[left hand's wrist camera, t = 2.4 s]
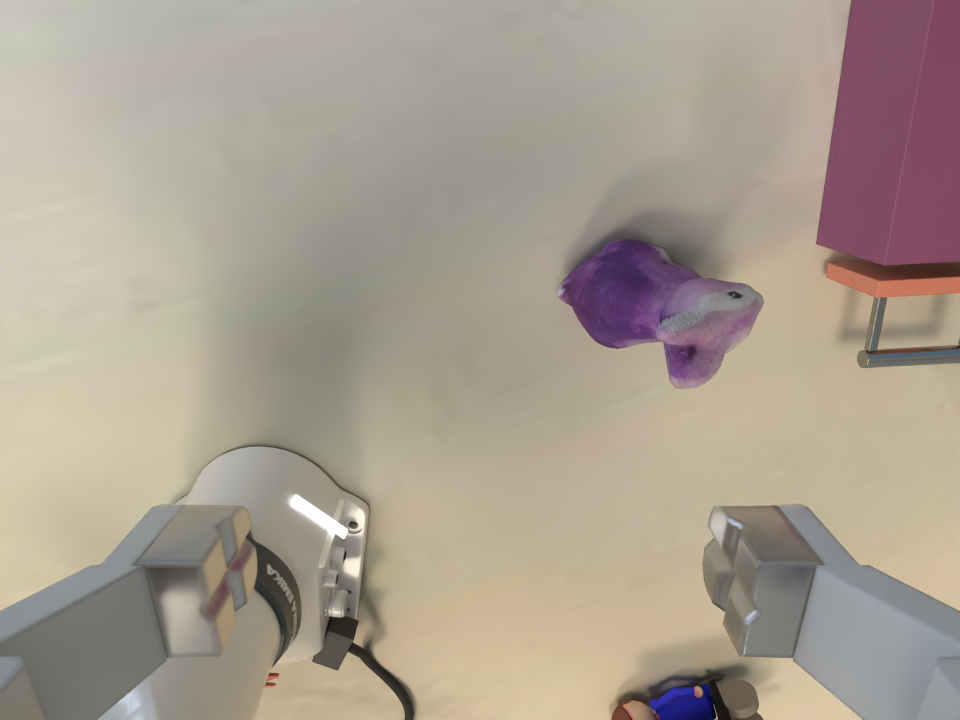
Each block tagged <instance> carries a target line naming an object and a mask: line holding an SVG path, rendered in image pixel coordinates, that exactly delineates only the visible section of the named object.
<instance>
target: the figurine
mask: <svg viewBox="0 0 960 720" xmlns="http://www.w3.org/2000/svg"><path fill="white" fill-rule="evenodd" d="M557 295H558V297H559V298H560V299H561V300H562V301H564V302H565V303H567V304H569V305H570V306H572V307H573V309H574V312H575V314H576V316H577V317H578V319H579V321H580V322H581V324H582V325H583V327H584V328H585V330H586V331H587V332H588V333H589V335H590V336H591V337H592V338H593V339H594V340H595V341H596V342H598V343H599V344H601V345H603V346H606V347H609V348H616V349H619V348H625V347H629V346H633V345H636V344H641V343H649V342H663V343H664V349H665V355H666V361H667V367H668V373H669V379H670V382H671V383H672V385H673V386H674V387H675V388H678V389H690V388H696V387H698V386H700V385H702V384H704V383H706V382H707V381H708V380H710V379H711V378H712V377H713V376H714V375H715V374H716V373H717V371H718V369H719V368H720V366H721V363H722V360H723V357H724V354H725V353H728V352H729V351H731V350H732V349H734V347H735V346H736V345H737V344H739V343H741V342H742V341H744V340H745V339H746V337H747V336H748V335H749V333H750V331H751V330H752V327H753V325H754V322H755V320H756V318H757V315H758V314H759V312H760V310H761V309H762V306H763V304H764V300H763V297H762V296H761V295H760V294H759V293H758V292H756V291H754V290H753V288H751V287H750V286H748V285H746V284H742V283H734V282H727V281H721V280H716V279H711V278H702V277H701V276H700V275H699V274H698V273H696V272H695V271H693V270H692V269H690V268H687V267H685V266H680V265H678V264H676V263H674V262H672V261H671V260H670V257H669V255H668V253H667V252H666V251H665V250H664V249H663V248H660V247H657V246H654V245H651V244H648V243H644V242H640V241H636V240H629V239H617V240H613V241H610V242H608V243H607V244H606V245H605V246H604V247H603V249H602V250H601V252H600V253H598V254H597V255H595V256H593V257H591V258H589V259H588V260H586V261H584V262H583V263H582V264H580V265H579V266H578V267H577V268H576V269H575V270H574V271H572V272H571V273H570V274H569V275H568V276H567V277H566V278H565V279H564V280H563V281H562V283H561V284H560V286H559V287H558V290H557Z"/></svg>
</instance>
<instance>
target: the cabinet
mask: <svg viewBox="0 0 960 720" xmlns="http://www.w3.org/2000/svg"><path fill="white" fill-rule="evenodd" d="M817 244H818V245H821V246H824V247H827V248H830V249H834V250H837V251H840V252H843V253H846V254H849V255H853V256H856V257H859V258H862V259H865V260H868V261H872V262H875V263H878V264H881V265H902V264H920V263H938V262H956V261H960V0H852V2H851V9H850V16H849V23H848V30H847V37H846V44H845V51H844V57H843V64H842V71H841V78H840V85H839V92H838V99H837V106H836V113H835V119H834V126H833V133H832V140H831V147H830V154H829V161H828V168H827V175H826V181H825V188H824V195H823V202H822V209H821V216H820V223H819V230H818V237H817Z"/></svg>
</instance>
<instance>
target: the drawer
mask: <svg viewBox="0 0 960 720" xmlns="http://www.w3.org/2000/svg"><path fill="white" fill-rule="evenodd" d="M826 277H827V278H829V279H832V280H834V281H837V282H839V283H841V284H844V285H846V286H849V287H851V288H854V289H856V290H859V291H861V292H864V293H866V294H869V295H871V296H874V301H873V306H872V312H871V317H870V322H869V328H868V333H867V338H866V344H865V350H861V351H860V352H859V353H858V355H857V362H858V365H859V366H860V367H861V368H875V367H894V366H914V365H933V364H952V363H960V339H959V343H958V344H959V345H950V346H931V347H912V348H893V349H877V347H878V342H879V336H880V331H881V326H882V321H883V316H884V311H885V305H886V300H887V297H897V296H915V295H934V294H952V293H960V261H956V262H938V263H920V264H902V265H881V264H878V263H875V262H872V261H853V262H835V263H828V269H827V276H826Z"/></svg>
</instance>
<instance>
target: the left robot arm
mask: <svg viewBox="0 0 960 720" xmlns="http://www.w3.org/2000/svg"><path fill="white" fill-rule="evenodd" d="M368 519H369V508H368V506H367V504H366V503H365V502H364V501H362V500H361V499H359V498H358V497H356V496H354V495H352V494H350V493H348V492H346V491H344V490H342V489H340V488H339V487H338V486H337V485H336V484H335V483H334V482H333V481H332V480H331V479H330V478H329V477H328V476H327V475H326V474H325V473H324V472H323V471H322V470H321V469H320V468H319V467H317V466H316V465H315V464H313V463H312V462H310V461H309V460H307V459H305V458H303V457H301V456H299V455H297V454H295V453H292V452H289V451H286V450H282V449H278V448H272V447H245V448H240V449H236V450H233V451H230V452H227V453H225V454H223V455H221V456H219V457H217V458H216V459H214V460H213V461H212V462H210V463H209V464H208V465H207V466H206V467H205V468H204V469H203V471H202V472H201V473H200V475H199V476H198V478H197V480H196V482H195V484H194V486H193V488H192V490H191V491H190V492H189V494H188V495H186V496H185V497H183V498H182V499H180V500H179V501H177V502H176V503H175V504H160V505H157V506H154V507H152V508H151V509H150V510H149V511H148V512H147V513H146V515H145V516H144V517H143V518H142V519H141V520H140V521H139V522H138V524H137V525H136V526H135V527H134V528H133V529H132V530H131V531H130V533H129V534H128V535H127V536H126V537H125V538H124V539H123V540H122V542H121V543H120V544H119V545H118V546H117V547H116V548H115V549H114V550H113V552H112V553H111V554H110V555H109V556H108V557H107V558H106V559H105V561H104V562H103V563H102V564H101V565H91V566H89V567H87V568H85V569H83V570H81V571H79V572H77V573H75V574H73V575H71V576H69V577H67V578H65V579H63V580H61V581H59V582H57V583H55V584H53V585H51V586H49V587H47V588H45V589H43V590H41V591H39V592H37V593H35V594H33V595H31V596H29V597H27V598H25V599H23V600H21V601H19V602H17V603H15V604H13V605H11V606H9V607H7V608H5V609H3V610H1V611H0V720H255V716H256V712H257V709H258V706H259V703H260V699H261V696H262V693H263V690H264V687H274V686H276V684H275V683H270V682H267V681H269V680H272V679H275V678H278V677H279V674H278V673H270V671H271V668H272V667H273V666H274V665H284V664H290V663H296V662H300V661H303V660H306V659H308V658H311V657H312V656H314V657H313V661H312V662H314V663H317V664H320V665H323V666H326V667H329V668H332V669H335V670H338V669H339V667H340V665H341V663H342V661H343V659H344V657H345V656H346V654H347V652H350V653H352V654H354V655H356V656H357V657H359V658H360V659H361V660H362V661H363V662H364V663H365V664H366V665H367V666H368V667H369V668H370V669H371V670H372V671H373V672H374V673H375V674H377V675H378V676H379V677H380V678H381V679H382V680H383V681H384V682H385V683H386V684H387V685H388V686H389V687H390V688H391V689H392V690H393V691H394V693H395V694H396V695H397V697H398V698H399V700H400V701H401V703H402V705H403V707H404V710H405V720H413V709H412V705H411V702H410V700H409V697H408V696H407V694H406V692H405V691H404V690H403V688H402V687H401V686H400V684H399V683H398V682H397V681H396V680H395V679H394V678H393V677H392V676H391V675H390V674H389V673H388V672H387V671H386V670H384V669H383V668H382V667H381V666H380V665H379V664H378V663H377V662H376V661H375V660H374V659H373V658H372V657H371V654H370V652H368V651H367V650H365V649H363V648H361V647H360V646H358V645H356V644H354V643H353V640H354V637H355V633H356V629H357V625H358V620H357V615H358V607H359V598H360V590H361V581H362V572H363V563H364V554H365V545H366V536H367V527H368ZM351 521H355V522H357V524H353V523H351ZM708 527H709V529H710V531H711V532H712V534H713V536H714V538H713V539H712V540H711V541H710V542H709V543H708V545H707V546H706V547H705V548H704V555H703V563H702V564H703V576H704V582H705V585H706V589H707V592H708V594H709V596H710V598H711V601H712V603H713V604H715V605H716V606H717V607H719V608H720V609H722V610H723V611H724V612H725V615H724V621H723V625H724V627H725V629H726V631H727V633H728V635H729V637H730V639H731V641H732V643H733V645H734V647H735V648H736V650H737V652H738V654H739V656H743V657H778V658H793V661H794V662H795V663H797V664H798V665H799V666H800V667H801V668H802V669H804V670H805V671H806V672H807V673H808V674H810V675H811V676H812V677H813V678H814V679H815V680H817V681H818V682H819V683H820V684H821V685H823V686H824V687H825V688H826V689H827V690H828V691H830V692H831V693H832V694H833V695H834V696H836V697H837V698H838V699H839V700H840V701H841V702H843V703H844V704H845V705H846V706H847V707H849V708H850V709H851V710H852V711H853V712H854V713H856V714H857V715H858V716H859V717H860V718H862V719H863V720H960V611H958V610H956V609H954V608H953V607H951V606H949V605H947V604H945V603H943V602H941V601H939V600H937V599H935V598H933V597H931V596H929V595H927V594H925V593H923V592H921V591H919V590H917V589H915V588H913V587H911V586H909V585H907V584H905V583H903V582H901V581H899V580H897V579H895V578H893V577H891V576H889V575H887V574H885V573H883V572H881V571H879V570H877V569H875V568H873V567H871V566H869V565H859V564H858V563H857V562H856V561H855V559H854V558H853V557H852V556H851V555H850V554H849V553H848V552H847V550H846V549H845V548H844V547H843V546H842V545H841V544H840V543H839V542H838V540H837V539H836V538H835V537H834V536H833V535H832V534H831V533H830V531H829V530H828V529H827V528H826V527H825V526H824V525H823V524H822V522H821V521H820V520H819V519H818V518H817V517H816V516H815V515H814V513H813V512H812V511H811V510H810V509H809V508H808V507H806V506H804V505H802V504H787V505H772V506H714V508H713V510H712V512H711V514H710V518H709V524H708Z"/></svg>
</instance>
